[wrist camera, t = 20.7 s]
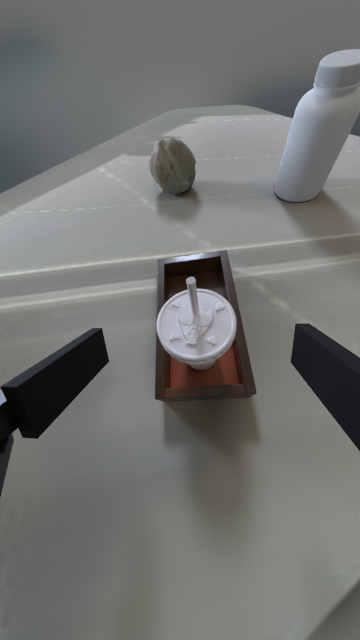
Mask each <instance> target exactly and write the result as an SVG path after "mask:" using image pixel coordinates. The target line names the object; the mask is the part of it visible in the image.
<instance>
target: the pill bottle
mask: <svg viewBox="0 0 360 640" xmlns="http://www.w3.org/2000/svg"><path fill="white" fill-rule="evenodd" d="M358 85H360V49H349V50H343V51H338V52H334V53H331V54H329V55H327V56H325V57H324V58H323V59H322V60H321V61H320V63H319V67H318V70H317V73H316V76H315V82H314V87H315V88H313V89H312V90H310V91H308V92H307V93H306V94H305V95H304V96H303V97H302V98H301V100H300V102H299V103H298V106H297V108H296V110H295V114H294V117H293V121H292V125H291V128H290V132H289V135H288V139H287V142H286V146H285V150H284V153H283V157H282V160H281V164H280V167H279V171H278V175H277V178H276V182H275V187H274V190H275V193H276V195H277V196H278V197H280V198H281V199H283V200H286V201H290V202H303V201H308V200H310V199H313V198H314V197H316V196H317V195H318V194H319V192H320V191H321V189H322V187H323V185H324V183H325V181H326V179H327V177H328V175H329V173H330V171H331V169H332V167H333V165H334V163H335V161H336V159H337V157H338V155H339V153H340V151H341V149H342V147H343V145H344V143H345V141H346V139H347V137H348V135H349V132H350V131H351V129H352V127H353V125H354V123H355V121H356V119H357V117H358V115H359V113H360V88H359V87H358Z"/></svg>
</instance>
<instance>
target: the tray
mask: <svg viewBox="0 0 360 640" xmlns="http://www.w3.org/2000/svg"><path fill="white" fill-rule="evenodd" d="M189 277H194V278H195V280H196V289H206V290H210V291H213V292H215V293H218V294H219V295H221V296H222V297H224V298H225V299H226V300H227V301H228V302H229V303H230V305H231V306H232V308H233V310H234V312H235V316H236V334H235V339H234V341H233V343H232V345H231V346H230V348H229V349H228V350H227V351H226V352H225V353H224V354H223V355H222V356H221V357H219V358H218V359H217V360H216V362H215V363H214V365H213V366H212V367H211V368H209V369H207V370H204V371H199V370H196V369H194V368H192V367H191V366H190V365H188V364H187V363H184V362H180V361H178V360H177V359H175V358H173V357H172V356H171V355H170V354H169V353H168V352H167V351H166V350H165V349H164V347H163V345H162V344H161V342H160V339H159V337H158V333H157V328H156V382H155V399H157V400H160V401H163V402H165V401H183V400H201V399H220V398H238V397H250V396H252V395H254V394H256V388H255V383H254V379H253V374H252V369H251V364H250V359H249V355H248V350H247V345H246V340H245V335H244V331H243V326H242V321H241V316H240V311H239V307H238V302H237V297H236V292H235V288H234V283H233V278H232V273H231V268H230V264H229V259H228V254H227V250H224V251H217V252H210V253H203V254H196V255H189V256H182V257H175V258H168V259H161V260H158V274H157V318H158V315H159V313H160V310H161V309H162V307H163V306H164V304H165V303H166V302H167V301H168V300H169V299H170V298H172V297H173V296H174V295H176V294H178V293H180V292H182V291H186V290H188V288H187V283H186V280H187V278H189Z"/></svg>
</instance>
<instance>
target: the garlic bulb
mask: <svg viewBox="0 0 360 640" xmlns="http://www.w3.org/2000/svg"><path fill="white" fill-rule="evenodd" d="M195 163H196V160H195V158H194V156H193V153H192V152H191V151H190V149H189V148H188V147H187V145H185V144H184V142H182V141H181V140H177V139H174V138H164V139H160V140H159V141H158V143H157V144H156V145H155V147H154V148H153V150H152V153H151V158H150V163H149V164H150V171H151V174H152V176H153V178H154V179H155V181H156V183H157V184H158V185H159V186H160V187H161V188H162V189H164V190H167V191H168V192H170V193H172V194H174V195H177V194H180V193H182V192H183V191H185V190H187V189H188V188H189V187H190V186H191V185H192V183H193V181H194V179H195V173H196V172H195Z"/></svg>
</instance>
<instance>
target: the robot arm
mask: <svg viewBox="0 0 360 640" xmlns="http://www.w3.org/2000/svg"><path fill="white" fill-rule="evenodd" d="M108 362H109V359H108V354H107V350H106V345H105V341H104V336H103V331H102V328H92V329H91V330H89V331H87V332H86V333H84V334H83V335H81V336H80V337H78V338H76V339H75V340H73V341H72V342H70V343H69V344H67V345H65V346H64V347H62V348H61V349H59V350H58V351H56V352H54V353H53V354H51V355H50V356H48V357H47V358H45V359H43V360H42V361H40V362H39V363H37V364H36V365H34V366H32V367H31V368H29V369H28V370H26V371H25V372H23V373H21V374H20V375H18V376H17V377H15V378H14V379H12V380H10V381H9V382H7V383H6V384H4V385H3V386H1V388H0V496H1V492H2V488H3V483H4V479H5V475H6V471H7V467H8V462H9V458H10V454H11V450H12V445H13V441H14V440H13V436H12V434H11V433H12V432H13V431H15V430H16V429H17V428H19V430H20V432H21V435H22V437H23V438H35V439H38V438H39V436H40V435H41V434H42V433H43V432H44V431H45V430H46V429H47V428H48V427H49V426H50V425H51V423H52V422H53V421H54V420H55V419H56V418H57V417H58V416H59V415H60V414H61V413H62V412H63V411H64V409H65V408H66V407H67V406H68V405H69V404H70V403H71V402H72V401H73V400H74V399H75V398H76V396H77V395H78V394H79V393H80V392H81V391H82V390H83V389H84V388H85V387H86V386H87V385H88V384H89V382H90V381H91V380H92V379H93V378H94V377H95V376H96V375H97V374H98V373H99V372H100V371H101V369H102V368H103V367H104V366H105V365H106V364H107V363H108ZM291 363H292V365H293V366H294V367H295V368H296V370H297V371H298V372H299V374H300V375H301V376H302V377H303V379H304V380H305V381H306V383H307V384H308V385H309V386H310V388H311V389H312V390H313V392H314V393H315V394H316V395H317V397H318V398H319V399H320V401H321V402H322V403H323V404H324V406H325V407H326V408H327V410H328V411H329V412H330V413H331V415H332V416H333V417H334V419H335V420H336V421H337V422H338V424H339V425H340V426H341V428H342V429H343V430H344V431H345V433H346V434H347V435H348V437H349V438H350V439H351V440H352V442H353V443H354V444H355V446H356V447H357V448H358V449H359V451H360V358H359V357H358V356H356V355H355V354H353V353H352V352H350V351H349V350H347V349H346V348H344V347H343V346H341V345H340V344H339V343H337V342H336V341H334V340H333V339H331V338H330V337H328V336H327V335H325V334H324V333H322V332H321V331H319V330H318V329H316V328H315V327H313V326H312V325H310V324H296V325H295V333H294V341H293V349H292V357H291Z"/></svg>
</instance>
